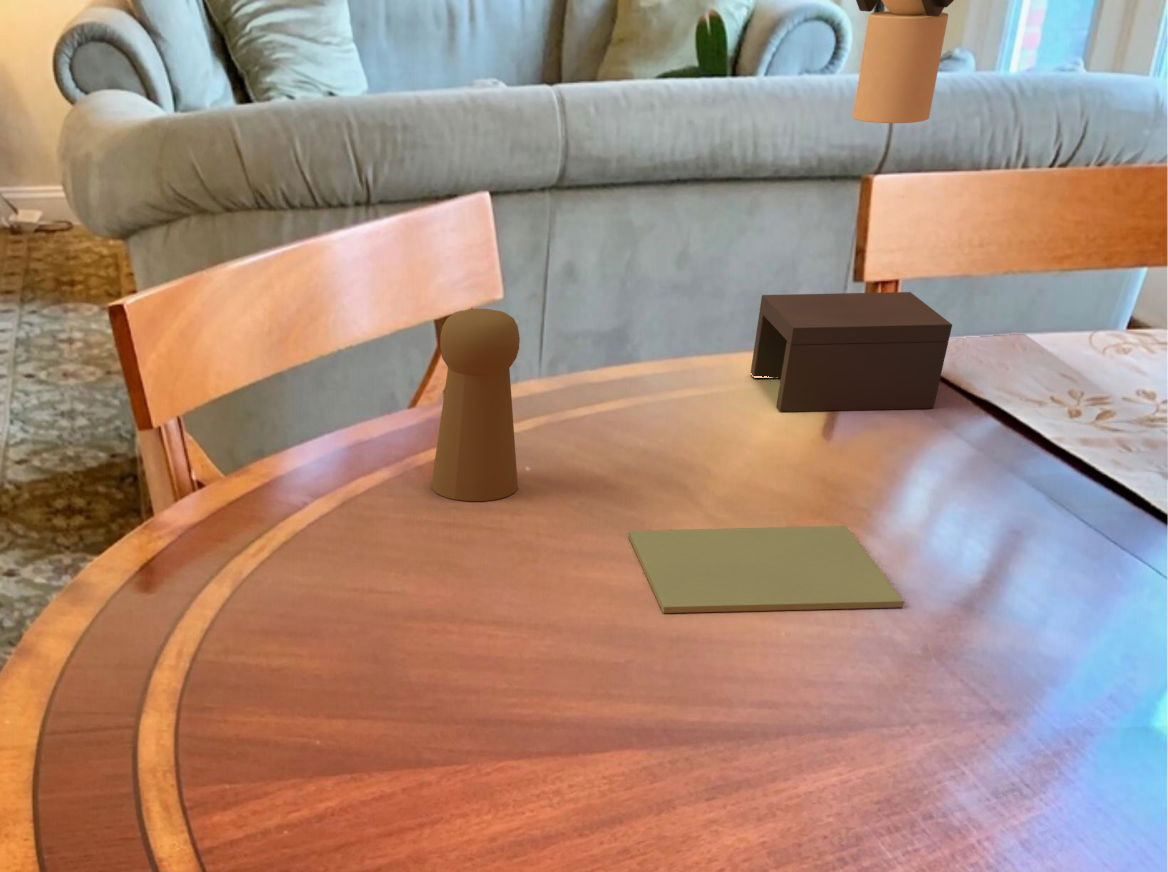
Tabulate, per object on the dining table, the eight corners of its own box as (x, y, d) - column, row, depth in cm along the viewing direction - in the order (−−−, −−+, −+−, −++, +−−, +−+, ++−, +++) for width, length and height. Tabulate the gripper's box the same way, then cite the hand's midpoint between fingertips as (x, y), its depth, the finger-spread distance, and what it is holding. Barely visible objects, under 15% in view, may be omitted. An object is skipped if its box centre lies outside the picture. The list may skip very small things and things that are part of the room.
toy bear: (915, 111, 106) (950, -82, 99) (938, 122, 102) (977, -79, 95) (843, 113, 106) (874, -80, 99) (864, 124, 102) (897, -77, 95)
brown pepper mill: (473, 465, 105) (479, 295, 98) (536, 486, 102) (547, 312, 94) (412, 485, 102) (414, 312, 95) (475, 507, 98) (481, 329, 91)
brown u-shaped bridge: (894, 371, 121) (910, 291, 118) (933, 408, 114) (952, 324, 110) (749, 374, 121) (761, 294, 117) (779, 412, 114) (793, 327, 110)
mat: (844, 531, 94) (846, 525, 94) (902, 607, 85) (904, 600, 85) (628, 536, 94) (628, 530, 94) (663, 613, 85) (663, 606, 85)
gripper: (933, -283, 98) (789, -47, 100) (1137, -297, 90) (975, -39, 92) (960, -180, 104) (823, 41, 106) (1153, -184, 96) (1000, 56, 98)
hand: (894, 2), depth 99 cm, fingers closed on toy bear, 4 cm apart
